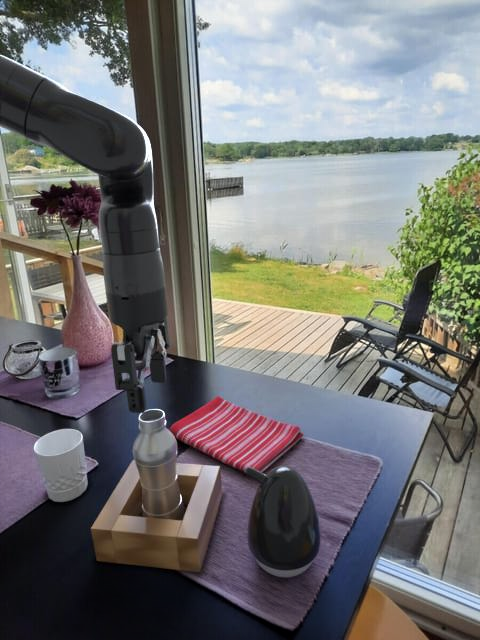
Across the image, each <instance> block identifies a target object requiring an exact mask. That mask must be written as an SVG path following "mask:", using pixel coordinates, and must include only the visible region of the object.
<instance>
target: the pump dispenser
mask: <svg viewBox="0 0 480 640" xmlns="http://www.w3.org/2000/svg"><path fill="white" fill-rule="evenodd" d="M245 474H246V475H247V476H248V477H250V478H251V479H253V480H254V481H256V482H257V483H258V484H259V485H258V488H257V489H256V492H255V493H254V497H253V499H252V503H251V506H250V510H249V515H248V523H247V534H246V535H247V539H246V540H247V546H248V549H249V551H250V553H251V554H252V556H253V558H254V559H255V561H256V563H257V564H258V565H259V566H260V567H261V569H263V571H265V572H267V573H268V574H270V575H272V576H275V577H278V578H292V577H293V578H294V577H296V576H299V575H301V574H302V573H304V572H305V571H306V570H307V569H309V567H310V566H311V565H312V564H313V562H314V560H315V558H316V557H317V556H318V554H319V551H320V549H321V541H322V538H321V526H320V520H319V514H318V510H317V507H316V503H315V501H314V498H313V495H312V493H311V490H310V488H309V486H308V484H307V481H305V479H304V478H303V476H302V475H301V474H300V473H299V471H297V470H296V469H294V468H293V467H290V466H287V465H280V466H276V467H274V468H272V469H271V470H269V471H268V472H267V473H264V472H260V471H258V470H256V469H254V468H252V467H248V468H247V470H246V473H245Z"/></svg>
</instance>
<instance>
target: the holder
mask: <svg viewBox="0 0 480 640" xmlns="http://www.w3.org/2000/svg"><path fill="white" fill-rule="evenodd" d="M176 467H177V482H178V486H179V491H180V495H181V497H182V500H183V503H184V506H185V505H186V506H187V507H186V510H185V511H184V518H183V521H180V520H169V519H158V518H148V517H142V516H141V515H142V504H143V500H142V486H141V481H140V476H139V472H138V469H137V466H136V463H135V460H134V459H132V461H131V462H130V464H129V465H128V467H127V469H126V470H125V472H124V474H123V475H122V477H121V478H120V480H119V481H118V483H117V485H116V487H115V488H114V490H113V491H112V493H111V495H110V496H109V498H108V500H107V501H106V503H105V504H104V506H103V508H102V510H101V511H100V513H99V514H98V516H97V517H96V519H95V521H94V523H93V524H92V526H91V527H90V531H91V537H92V542H93V548H94V552H95V558H96V561H97V562H102V563H113V564H123V565H130V566H141V567H149V568H157V569H168V570H177V571H184V572H185V571H186V572H193V573H201V571H202V568H203V565H204V562H205V561H204V560H205V557H206V554H207V550H208V546H209V543H210V540H211V539H210V538H211V536H212V533H213V529H214V526H215V521H216V517H217V515H218V511H219V507H220V504H221V500H222V497H223V489H222V473H221V471H222V470H221V466H220V465H210V464H209V465H208V464H199V463H198V464H197V463H182V462H176Z"/></svg>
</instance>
